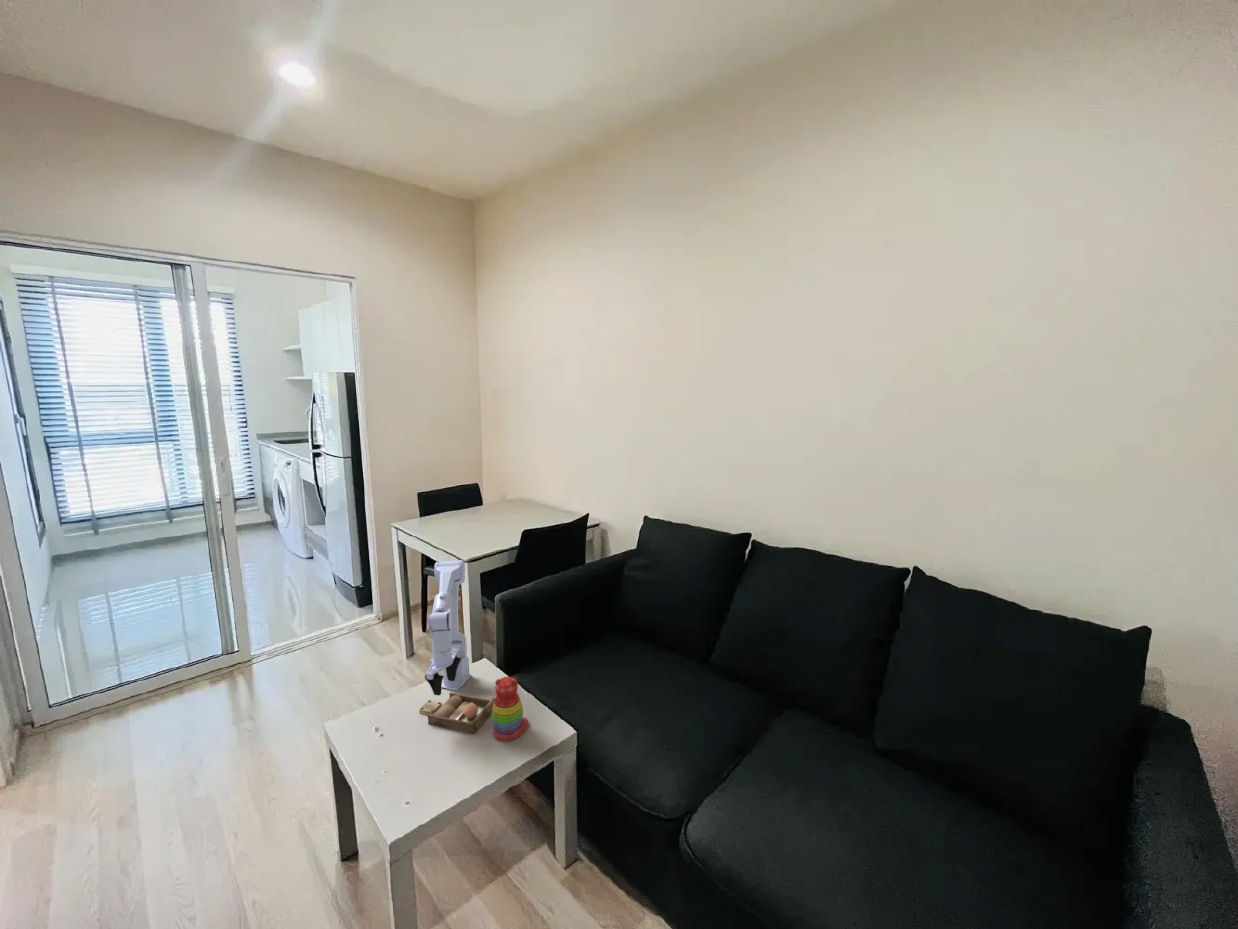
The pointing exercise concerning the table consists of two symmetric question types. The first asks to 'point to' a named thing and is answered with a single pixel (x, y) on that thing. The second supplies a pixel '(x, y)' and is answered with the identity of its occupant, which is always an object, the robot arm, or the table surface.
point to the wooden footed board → (430, 707)
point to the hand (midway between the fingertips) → (444, 687)
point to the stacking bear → (508, 711)
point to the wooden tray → (461, 713)
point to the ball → (470, 710)
